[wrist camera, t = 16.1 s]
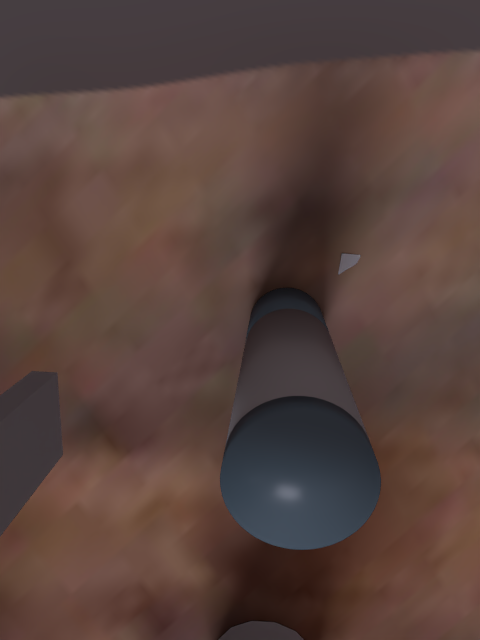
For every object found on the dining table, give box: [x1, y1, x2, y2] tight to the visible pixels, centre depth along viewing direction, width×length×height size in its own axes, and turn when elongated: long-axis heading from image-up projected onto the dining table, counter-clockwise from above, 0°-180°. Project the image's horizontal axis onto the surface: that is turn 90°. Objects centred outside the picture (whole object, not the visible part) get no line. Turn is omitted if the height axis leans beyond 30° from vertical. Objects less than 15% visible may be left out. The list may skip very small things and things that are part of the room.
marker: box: [220, 288, 381, 550], centre depth 16 cm, size 4×4×13 cm
